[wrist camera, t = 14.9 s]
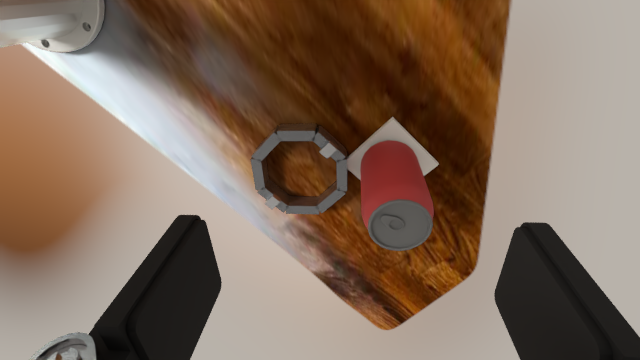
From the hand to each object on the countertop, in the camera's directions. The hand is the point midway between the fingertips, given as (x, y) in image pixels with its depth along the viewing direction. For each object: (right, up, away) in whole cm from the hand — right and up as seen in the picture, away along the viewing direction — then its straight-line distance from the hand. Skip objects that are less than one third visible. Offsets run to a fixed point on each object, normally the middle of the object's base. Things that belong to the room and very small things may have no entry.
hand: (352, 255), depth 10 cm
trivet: (+7, +4, +30) cm, 31 cm away
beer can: (+7, +4, +29) cm, 30 cm away
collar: (-3, +4, +31) cm, 31 cm away
